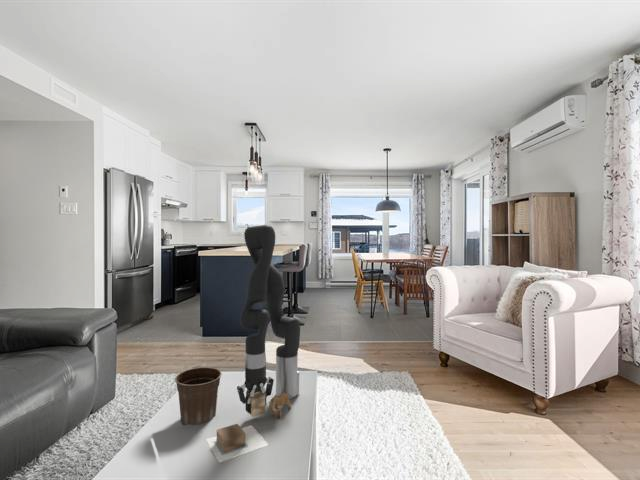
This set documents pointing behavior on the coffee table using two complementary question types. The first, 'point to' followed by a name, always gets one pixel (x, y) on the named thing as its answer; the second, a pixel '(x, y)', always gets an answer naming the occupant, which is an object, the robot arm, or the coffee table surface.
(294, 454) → the coffee table surface
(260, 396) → the oak block
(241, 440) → the walnut plinth
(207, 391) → the plant pot
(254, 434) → the board
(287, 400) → the lion figurine
